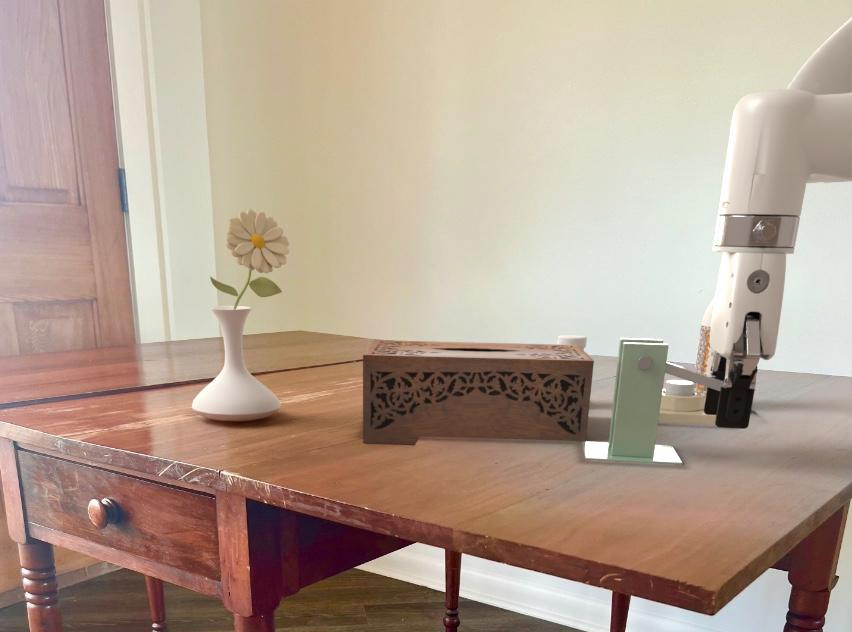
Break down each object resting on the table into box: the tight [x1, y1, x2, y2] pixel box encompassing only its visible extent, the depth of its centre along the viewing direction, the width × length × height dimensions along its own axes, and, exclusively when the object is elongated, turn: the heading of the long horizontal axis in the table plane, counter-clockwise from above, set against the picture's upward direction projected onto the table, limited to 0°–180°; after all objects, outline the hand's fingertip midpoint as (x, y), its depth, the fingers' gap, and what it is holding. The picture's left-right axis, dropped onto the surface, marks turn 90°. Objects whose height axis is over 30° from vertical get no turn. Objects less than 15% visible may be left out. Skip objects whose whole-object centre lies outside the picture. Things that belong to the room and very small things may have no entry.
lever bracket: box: [581, 337, 684, 466], centre depth 92 cm, size 10×8×13 cm
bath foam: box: [693, 297, 715, 399], centre depth 120 cm, size 7×7×20 cm
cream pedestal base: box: [658, 388, 716, 426], centre depth 114 cm, size 12×10×4 cm
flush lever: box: [665, 361, 725, 391], centre depth 90 cm, size 12×5×2 cm, turn 82°
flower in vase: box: [191, 208, 290, 422], centre depth 108 cm, size 13×11×25 cm
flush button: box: [664, 379, 695, 396], centre depth 113 cm, size 4×4×2 cm
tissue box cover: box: [362, 339, 595, 446], centre depth 105 cm, size 26×14×10 cm, turn 86°
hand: (724, 419), depth 92 cm, fingers open, 6 cm apart
